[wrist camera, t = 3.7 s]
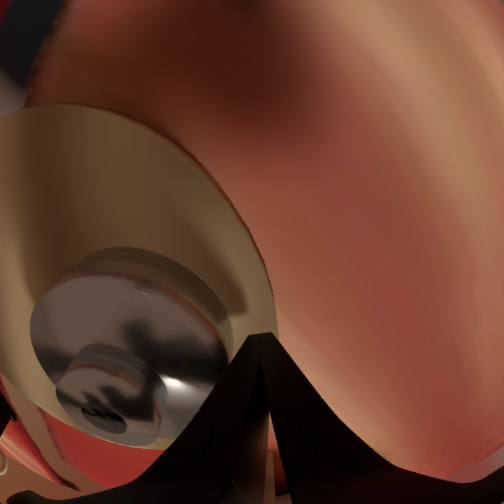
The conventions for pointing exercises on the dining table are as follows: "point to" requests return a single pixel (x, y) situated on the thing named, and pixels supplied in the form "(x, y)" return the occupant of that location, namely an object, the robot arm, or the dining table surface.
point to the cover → (131, 344)
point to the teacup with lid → (5, 464)
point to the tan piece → (112, 228)
